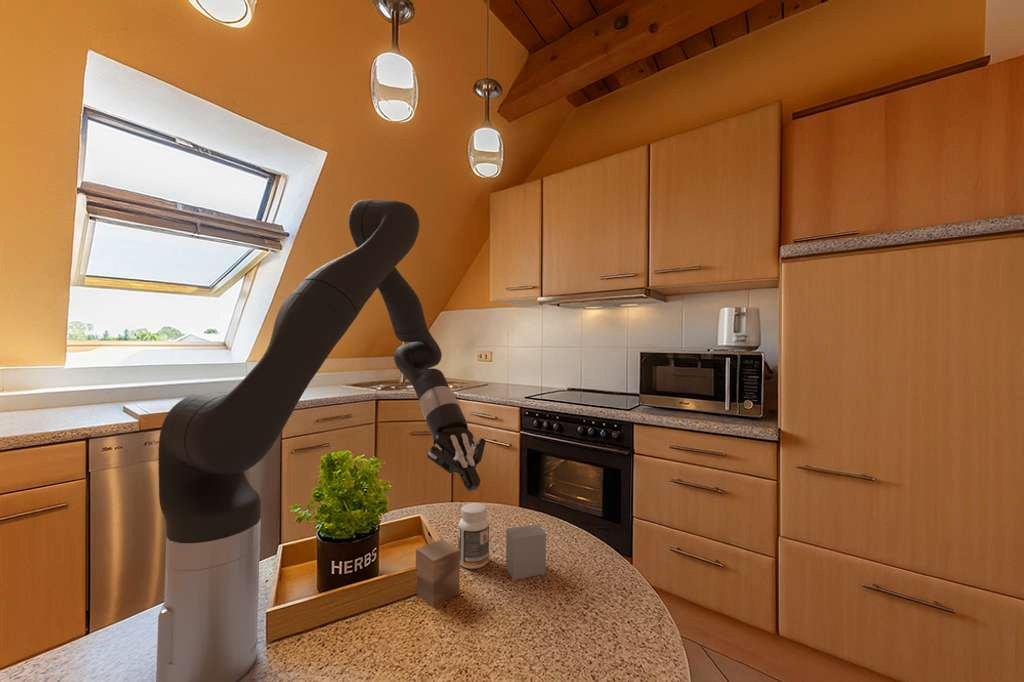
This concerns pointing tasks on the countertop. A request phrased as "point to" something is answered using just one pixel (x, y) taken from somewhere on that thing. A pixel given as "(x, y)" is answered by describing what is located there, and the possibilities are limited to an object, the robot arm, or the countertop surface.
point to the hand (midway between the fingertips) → (474, 488)
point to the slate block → (525, 551)
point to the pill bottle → (473, 536)
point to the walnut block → (437, 572)
